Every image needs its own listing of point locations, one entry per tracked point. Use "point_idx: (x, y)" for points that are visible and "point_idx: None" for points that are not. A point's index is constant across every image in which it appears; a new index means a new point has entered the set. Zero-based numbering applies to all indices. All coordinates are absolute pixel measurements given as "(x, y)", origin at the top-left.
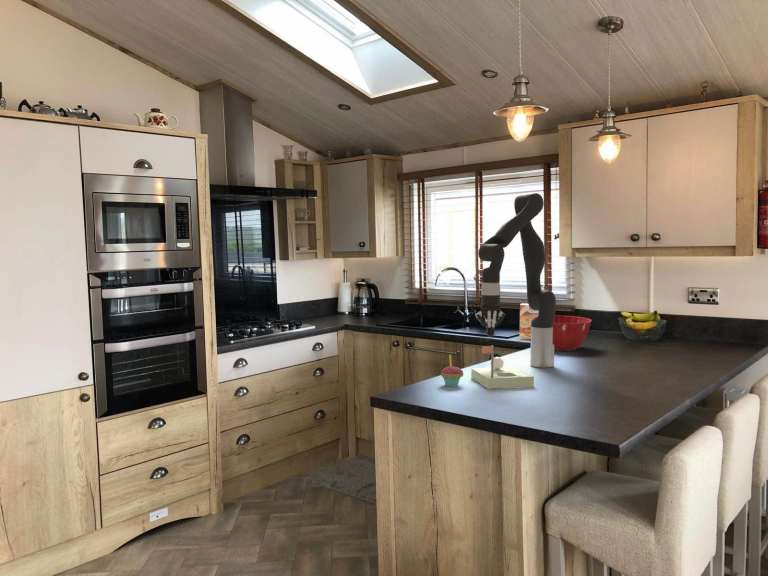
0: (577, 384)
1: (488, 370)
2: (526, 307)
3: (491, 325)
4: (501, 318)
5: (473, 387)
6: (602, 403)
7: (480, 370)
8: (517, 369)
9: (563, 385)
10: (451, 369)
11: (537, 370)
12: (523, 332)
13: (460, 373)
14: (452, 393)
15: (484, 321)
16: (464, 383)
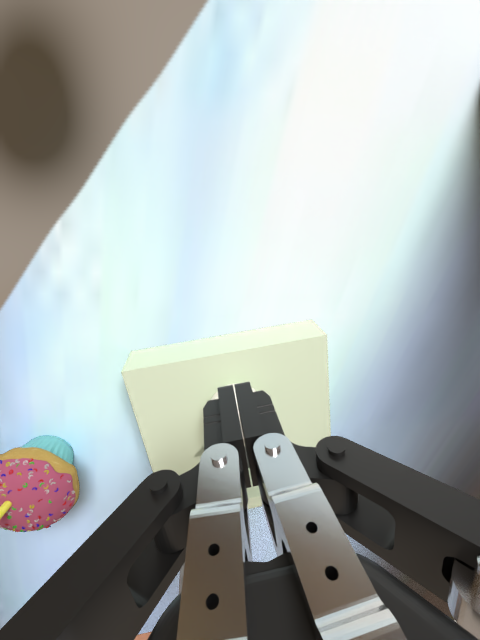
0: (458, 427)
1: (194, 412)
2: None
3: (261, 500)
4: (437, 576)
5: (128, 476)
6: (404, 574)
7: (159, 413)
8: (319, 391)
9: (413, 440)
10: (16, 529)
11: (455, 200)
12: None
13: (64, 514)
14: (57, 540)
15: (163, 591)
16: (99, 430)
